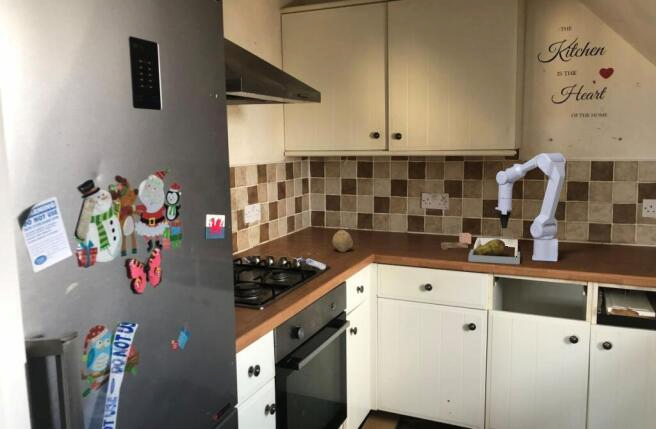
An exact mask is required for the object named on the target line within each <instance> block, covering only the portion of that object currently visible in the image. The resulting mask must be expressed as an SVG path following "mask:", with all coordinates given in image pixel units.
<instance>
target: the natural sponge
mask: <svg viewBox="0 0 656 429" xmlns="http://www.w3.org/2000/svg"><path fill="white" fill-rule="evenodd" d="M331 242H332V245H333V247H335V249H336V250H337V251H339V252H341V253H346V251H348V250H349V249H351V248H353V245H354V241H353V239H352V237H351V234H350V233H349V232H347V231H346V230H343V229H340V230H337V232H335V233H334V235H333V237H332V241H331Z"/></svg>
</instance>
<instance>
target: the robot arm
mask: <svg viewBox="0 0 656 429" xmlns="http://www.w3.org/2000/svg"><path fill="white" fill-rule="evenodd" d="M566 162H567V160H566V158H565V157H564V155H563V154H562V153H561V152H554V153H551V152H549V153H546V152H545V153H544V152H543V153H539V154H537V155H535V157H533V158H531V159H530V160H528V161H526V162H524V163H523V164H521V163H514V164H513V166H511V167H508V168H506V169H505V171H503V170H500V171H498V172H497V174H496V177H495V180H496V183H497V184H498V197H497V198H498V199H497V200H498V202H497V207H495V210H498V212H497V215H498V217H499V221H500V227H501V229H507V228H508V223H509V220H510V217H511V215H512V210H513V206H512V204H513V203H512V202H513V200H512V199H513V187H514V183H515V182H516V181H517V180H519V179H521V178H522V177H524V176H526V174H527V172H529V171H531V170H533V169H535V168H539V169H540V170H541V171H542V172H543V173H544V174H545V175H546V176H547V177H548V181H547V187H546V190H545V194H544V198H543V201H542V205H541V210H540V213H539V215H538V216H536V217H535V218H534V220H533V223H532V224H531V225H530V228H529V229H530V234H531V236H532V238H533V255H532V256H531V257H532V258H531V259H532V261H543V262H558V257H559V252H558V250H559V239H558V238H554V237H555V235H557V232H558V220H557V218H555V215H556V212H557V208H558V203H559V199H560V196H561V192H562V188H563V185H564V183H565V182H564V181H565V178H566V171H565V170H566V169H565V166H566Z"/></svg>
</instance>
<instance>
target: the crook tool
mask: <svg viewBox="0 0 656 429" xmlns="http://www.w3.org/2000/svg"><path fill="white" fill-rule="evenodd" d="M440 247H441V249H442V250H448V249H450V248H454V249H456V248H459V249H460V248H464V249H465V248H466V249H467V248H469V244H468V243H460V242H440Z"/></svg>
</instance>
